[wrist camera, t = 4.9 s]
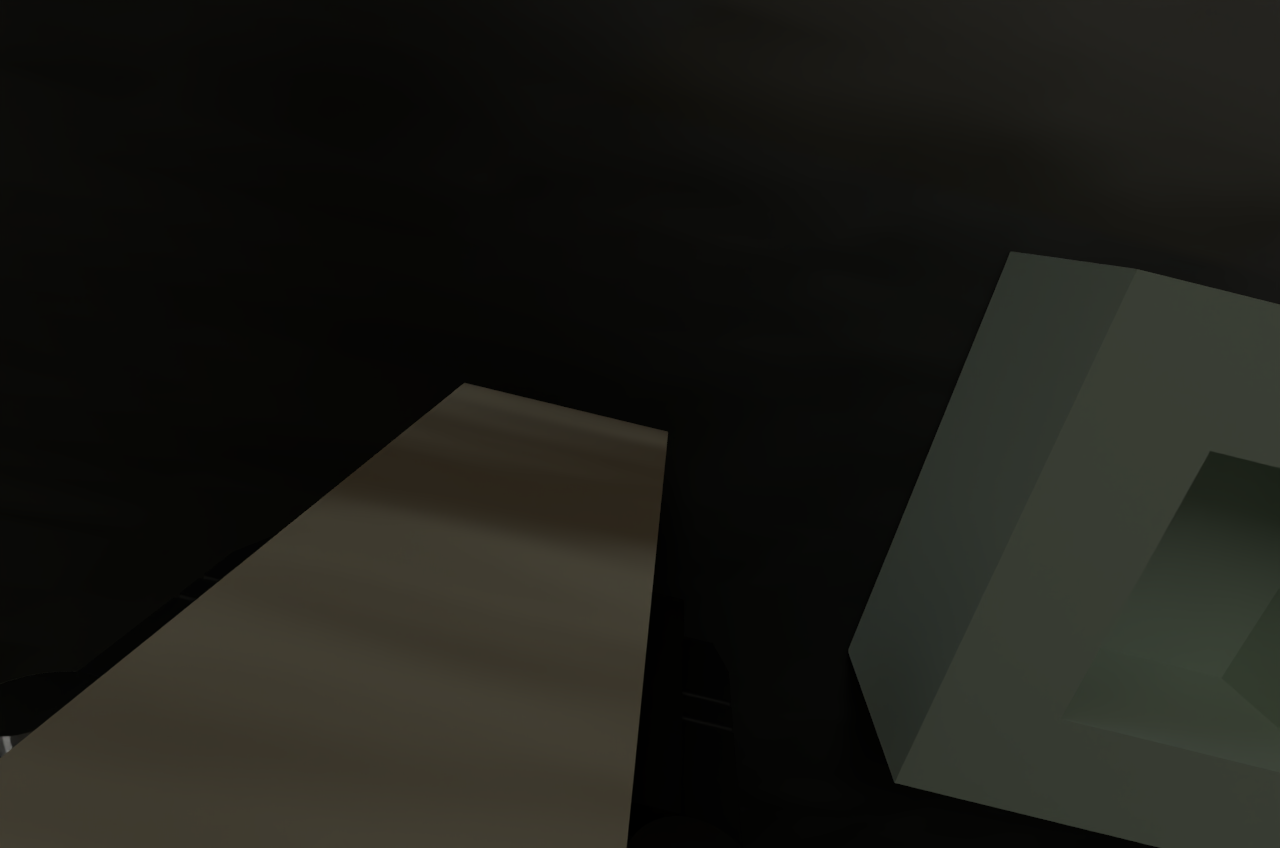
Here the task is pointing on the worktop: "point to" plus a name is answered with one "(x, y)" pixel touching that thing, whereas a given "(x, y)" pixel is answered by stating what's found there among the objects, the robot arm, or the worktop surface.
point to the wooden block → (388, 661)
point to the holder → (1094, 565)
